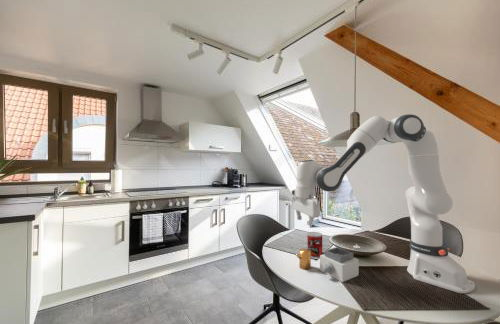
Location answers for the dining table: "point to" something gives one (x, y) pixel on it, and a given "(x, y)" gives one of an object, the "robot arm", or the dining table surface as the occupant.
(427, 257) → the robot arm
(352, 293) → the dining table surface
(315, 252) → the canned food
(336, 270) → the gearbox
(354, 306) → the dining table surface
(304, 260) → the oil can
